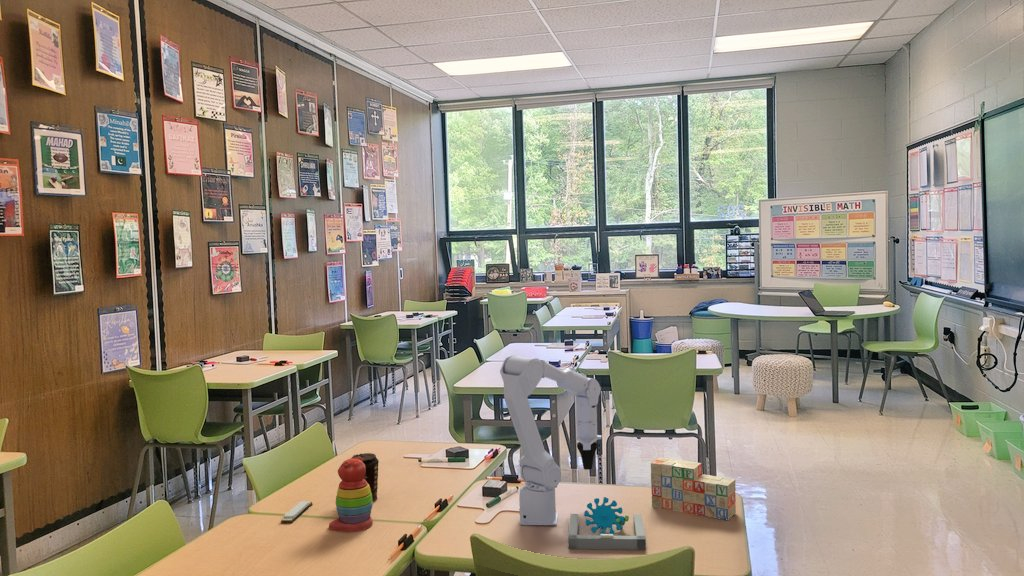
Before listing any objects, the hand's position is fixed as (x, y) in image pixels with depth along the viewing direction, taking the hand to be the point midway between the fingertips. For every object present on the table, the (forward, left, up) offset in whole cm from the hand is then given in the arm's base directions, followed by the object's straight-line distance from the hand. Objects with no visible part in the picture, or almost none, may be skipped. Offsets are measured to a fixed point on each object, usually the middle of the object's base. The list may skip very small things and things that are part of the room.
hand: (587, 468), depth 204 cm
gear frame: (+5, -23, -9) cm, 25 cm away
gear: (+5, -21, -10) cm, 23 cm away
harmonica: (-80, -11, -10) cm, 81 cm away
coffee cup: (-64, 0, -10) cm, 65 cm away
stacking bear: (-61, -19, -10) cm, 65 cm away
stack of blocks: (+28, -5, -10) cm, 30 cm away
